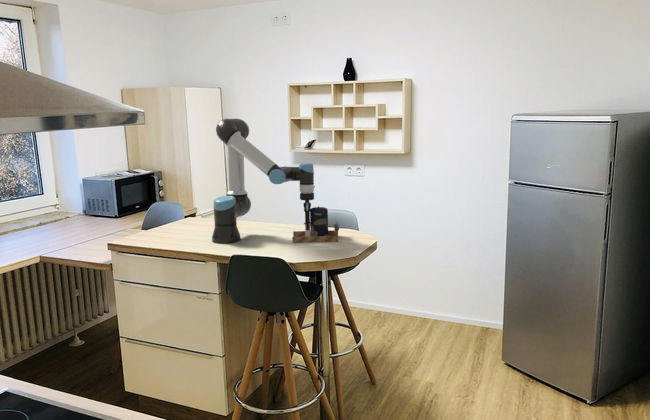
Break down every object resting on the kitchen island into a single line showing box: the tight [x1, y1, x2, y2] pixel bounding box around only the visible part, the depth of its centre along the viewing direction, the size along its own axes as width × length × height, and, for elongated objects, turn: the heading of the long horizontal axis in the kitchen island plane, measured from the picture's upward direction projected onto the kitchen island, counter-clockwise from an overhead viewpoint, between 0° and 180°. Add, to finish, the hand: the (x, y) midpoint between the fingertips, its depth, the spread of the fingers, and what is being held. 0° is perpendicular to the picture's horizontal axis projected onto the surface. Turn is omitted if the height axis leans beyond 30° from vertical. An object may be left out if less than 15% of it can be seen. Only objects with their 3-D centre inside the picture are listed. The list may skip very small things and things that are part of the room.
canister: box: [310, 206, 329, 236], centre depth 281 cm, size 10×10×18 cm
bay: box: [291, 220, 340, 244], centre depth 282 cm, size 25×15×8 cm, turn 92°
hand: (307, 235), depth 282 cm, fingers closed
